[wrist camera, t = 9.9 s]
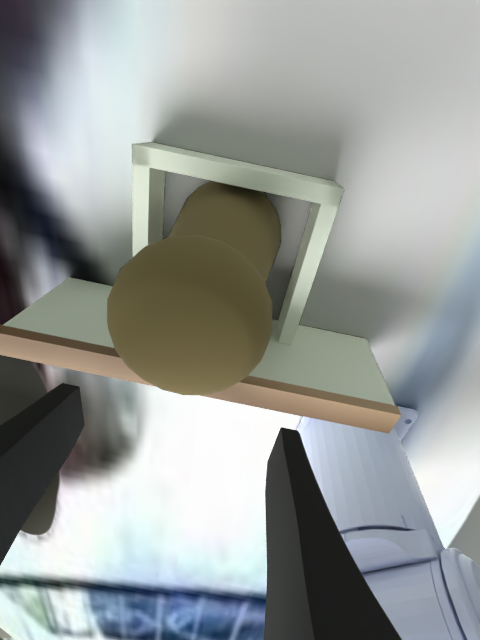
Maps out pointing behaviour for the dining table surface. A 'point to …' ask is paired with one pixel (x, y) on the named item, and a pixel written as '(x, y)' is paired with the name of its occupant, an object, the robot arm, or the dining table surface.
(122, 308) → the cork
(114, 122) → the dining table surface
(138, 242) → the stand
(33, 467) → the robot arm
